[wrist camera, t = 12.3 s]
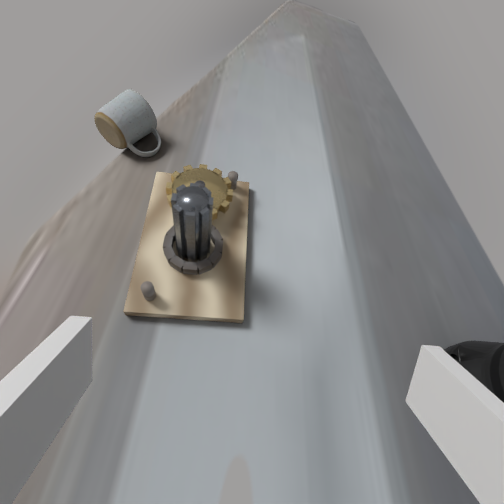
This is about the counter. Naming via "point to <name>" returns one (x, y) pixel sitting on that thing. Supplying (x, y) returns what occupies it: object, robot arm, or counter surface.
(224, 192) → the gear
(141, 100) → the ceramic mug
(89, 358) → the robot arm
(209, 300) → the board
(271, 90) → the counter surface
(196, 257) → the pinion
